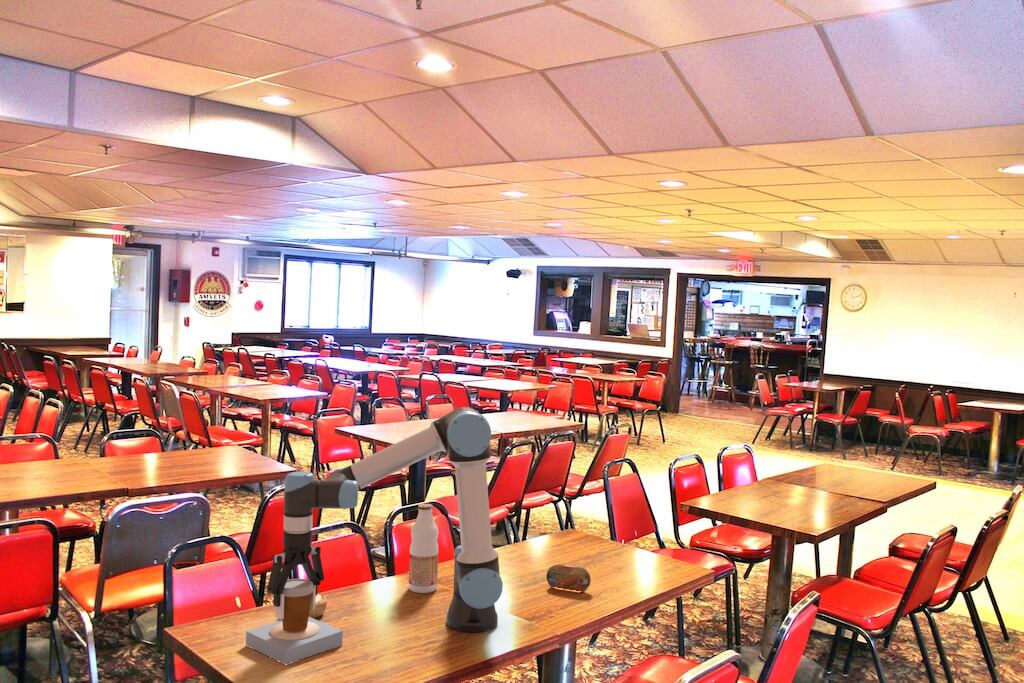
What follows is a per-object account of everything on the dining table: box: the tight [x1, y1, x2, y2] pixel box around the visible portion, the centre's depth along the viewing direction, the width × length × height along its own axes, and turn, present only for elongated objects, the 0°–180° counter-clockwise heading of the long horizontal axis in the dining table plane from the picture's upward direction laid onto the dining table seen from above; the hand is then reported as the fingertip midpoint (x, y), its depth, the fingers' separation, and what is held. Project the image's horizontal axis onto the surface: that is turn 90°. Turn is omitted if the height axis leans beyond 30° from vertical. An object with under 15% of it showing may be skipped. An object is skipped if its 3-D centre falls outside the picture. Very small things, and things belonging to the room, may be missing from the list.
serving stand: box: [245, 617, 344, 665], centre depth 216 cm, size 18×18×4 cm
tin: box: [546, 563, 592, 593], centre depth 270 cm, size 15×3×8 cm, turn 68°
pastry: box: [309, 593, 328, 619], centre depth 240 cm, size 12×12×9 cm
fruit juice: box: [408, 503, 439, 594], centre depth 266 cm, size 9×9×28 cm
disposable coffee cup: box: [281, 578, 314, 632], centre depth 216 cm, size 10×10×12 cm
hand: (295, 612), depth 216 cm, fingers closed on disposable coffee cup, 9 cm apart
